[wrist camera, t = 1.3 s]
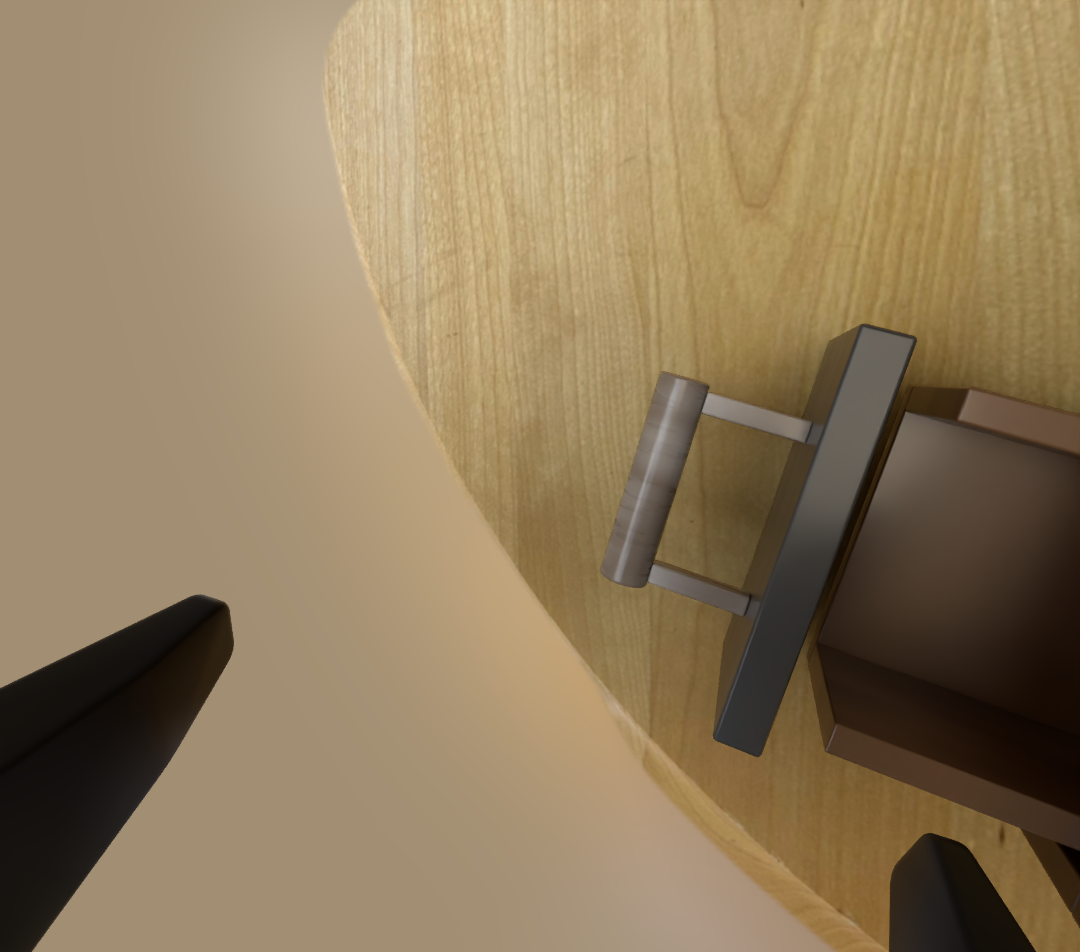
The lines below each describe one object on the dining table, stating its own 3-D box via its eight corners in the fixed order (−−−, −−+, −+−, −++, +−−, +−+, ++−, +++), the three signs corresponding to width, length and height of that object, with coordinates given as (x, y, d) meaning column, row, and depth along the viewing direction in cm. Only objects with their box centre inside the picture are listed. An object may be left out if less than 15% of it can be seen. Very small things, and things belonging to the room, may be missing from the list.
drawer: (604, 600, 25) (552, 677, 19) (695, 305, 23) (673, 275, 16) (1139, 796, 21) (1310, 981, 15) (1309, 463, 19) (1596, 505, 12)
